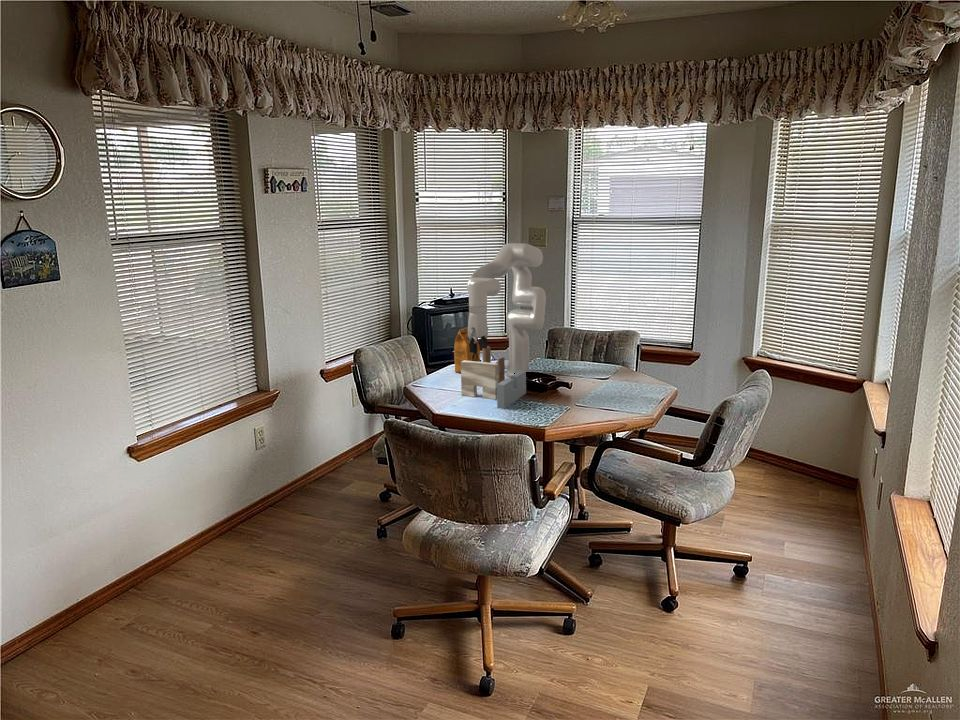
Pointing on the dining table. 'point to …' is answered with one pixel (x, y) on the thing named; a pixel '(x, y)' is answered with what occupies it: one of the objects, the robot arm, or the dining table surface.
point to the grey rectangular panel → (511, 389)
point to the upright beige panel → (479, 378)
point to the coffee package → (464, 349)
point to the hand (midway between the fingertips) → (478, 350)
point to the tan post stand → (500, 362)
